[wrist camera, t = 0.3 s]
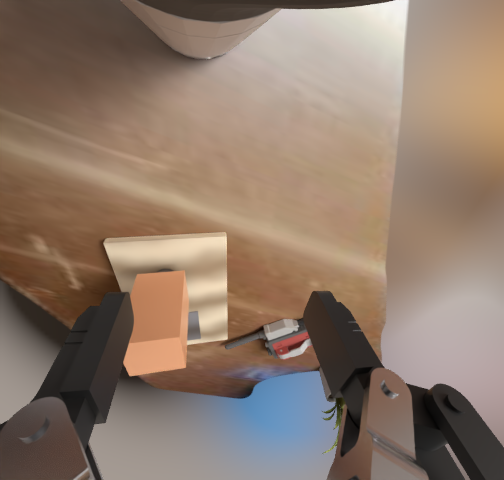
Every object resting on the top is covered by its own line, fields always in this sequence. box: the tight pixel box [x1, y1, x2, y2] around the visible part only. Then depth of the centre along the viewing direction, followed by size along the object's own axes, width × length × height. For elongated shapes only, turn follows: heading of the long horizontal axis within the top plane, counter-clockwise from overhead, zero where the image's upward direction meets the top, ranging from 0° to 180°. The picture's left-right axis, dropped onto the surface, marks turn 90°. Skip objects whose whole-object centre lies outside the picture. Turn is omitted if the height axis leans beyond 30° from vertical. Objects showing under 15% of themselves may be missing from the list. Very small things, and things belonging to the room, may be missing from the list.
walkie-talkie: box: [225, 319, 313, 360], centre depth 44 cm, size 9×4×20 cm
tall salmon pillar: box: [123, 270, 189, 376], centre depth 26 cm, size 5×5×9 cm
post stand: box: [103, 232, 227, 345], centre depth 31 cm, size 22×14×11 cm, turn 177°
